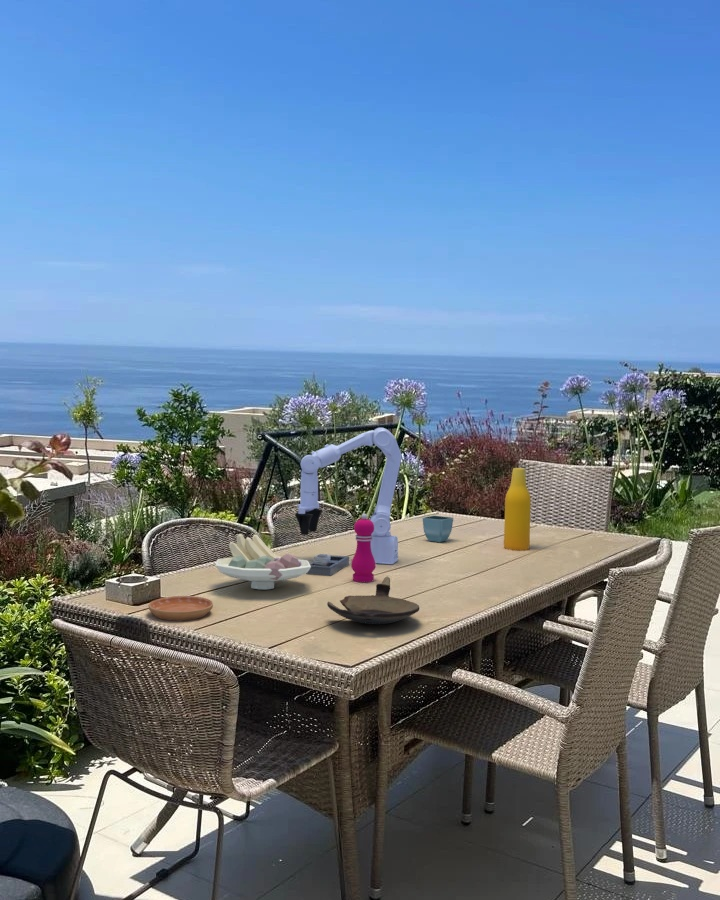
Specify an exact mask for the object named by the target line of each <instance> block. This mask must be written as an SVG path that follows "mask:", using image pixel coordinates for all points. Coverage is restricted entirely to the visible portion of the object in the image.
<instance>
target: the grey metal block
mask: <svg viewBox="0 0 720 900" xmlns="http://www.w3.org/2000/svg"><path fill="white" fill-rule="evenodd" d="M313 562H314V565H316V566H331V556H330V554H326V553H325V554H324V553H319V554H317V555H316V556H314V557H313Z"/></svg>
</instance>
